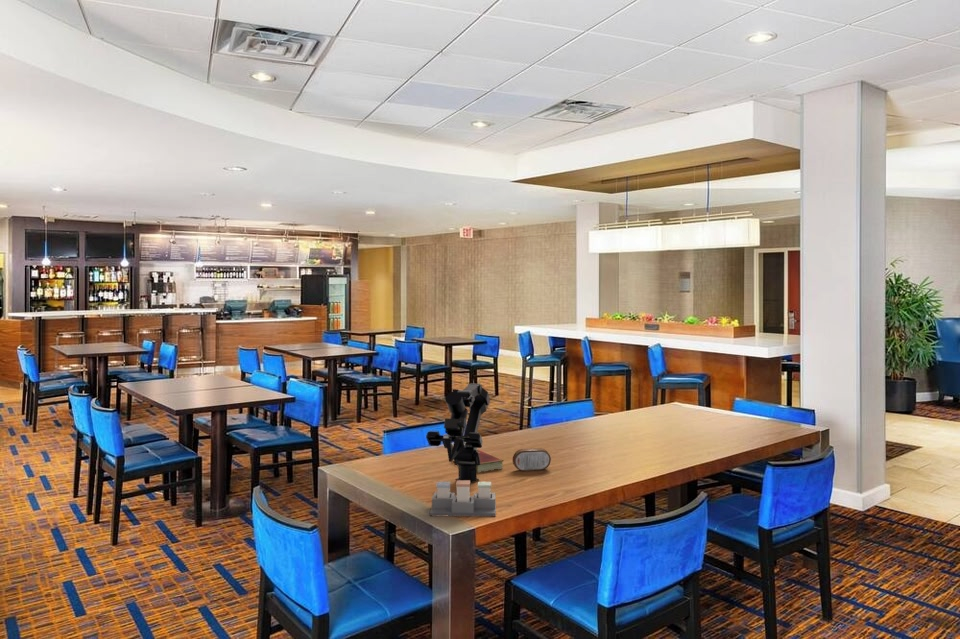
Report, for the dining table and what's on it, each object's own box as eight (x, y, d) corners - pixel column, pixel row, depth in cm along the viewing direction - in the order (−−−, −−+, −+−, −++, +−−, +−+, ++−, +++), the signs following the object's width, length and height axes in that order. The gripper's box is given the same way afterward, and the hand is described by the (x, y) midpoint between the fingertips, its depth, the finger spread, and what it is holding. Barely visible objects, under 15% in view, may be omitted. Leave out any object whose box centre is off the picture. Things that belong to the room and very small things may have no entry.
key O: (478, 503, 213) (478, 481, 213) (491, 503, 213) (491, 481, 213) (477, 507, 209) (477, 485, 209) (490, 507, 209) (490, 485, 209)
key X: (457, 502, 209) (457, 480, 209) (470, 502, 209) (470, 480, 209) (456, 506, 205) (456, 484, 205) (469, 506, 205) (469, 484, 205)
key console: (433, 504, 215) (433, 492, 215) (496, 504, 214) (495, 492, 214) (429, 515, 204) (429, 503, 204) (495, 516, 203) (495, 503, 203)
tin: (549, 468, 260) (549, 447, 259) (551, 470, 257) (551, 448, 256) (512, 470, 257) (512, 448, 257) (514, 472, 254) (514, 450, 254)
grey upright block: (437, 502, 214) (437, 481, 213) (450, 502, 213) (450, 481, 213) (436, 507, 209) (436, 485, 209) (449, 507, 209) (449, 485, 209)
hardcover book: (476, 474, 253) (476, 463, 253) (453, 462, 272) (453, 451, 272) (503, 470, 259) (503, 459, 259) (479, 458, 278) (479, 448, 277)
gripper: (427, 407, 225) (418, 447, 215) (480, 409, 221) (473, 449, 211) (433, 425, 233) (425, 464, 223) (485, 427, 229) (479, 467, 219)
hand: (450, 461), depth 219 cm, fingers closed
